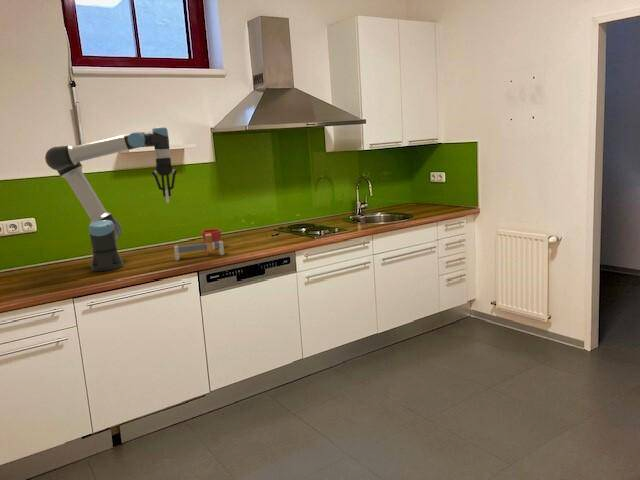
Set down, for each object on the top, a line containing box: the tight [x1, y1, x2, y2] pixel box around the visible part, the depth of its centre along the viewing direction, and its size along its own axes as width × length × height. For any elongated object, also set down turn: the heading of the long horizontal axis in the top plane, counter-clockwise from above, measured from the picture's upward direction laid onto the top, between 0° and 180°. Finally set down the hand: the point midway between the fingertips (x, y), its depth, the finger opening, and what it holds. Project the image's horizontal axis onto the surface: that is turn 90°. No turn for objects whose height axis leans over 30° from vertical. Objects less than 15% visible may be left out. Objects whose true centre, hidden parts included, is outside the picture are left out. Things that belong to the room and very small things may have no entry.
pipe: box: [173, 240, 225, 261], centre depth 281 cm, size 25×6×7 cm, turn 104°
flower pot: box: [201, 228, 222, 243], centre depth 302 cm, size 11×11×10 cm
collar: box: [205, 233, 214, 255], centre depth 281 cm, size 3×7×10 cm, turn 15°
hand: (167, 202), depth 282 cm, fingers closed
